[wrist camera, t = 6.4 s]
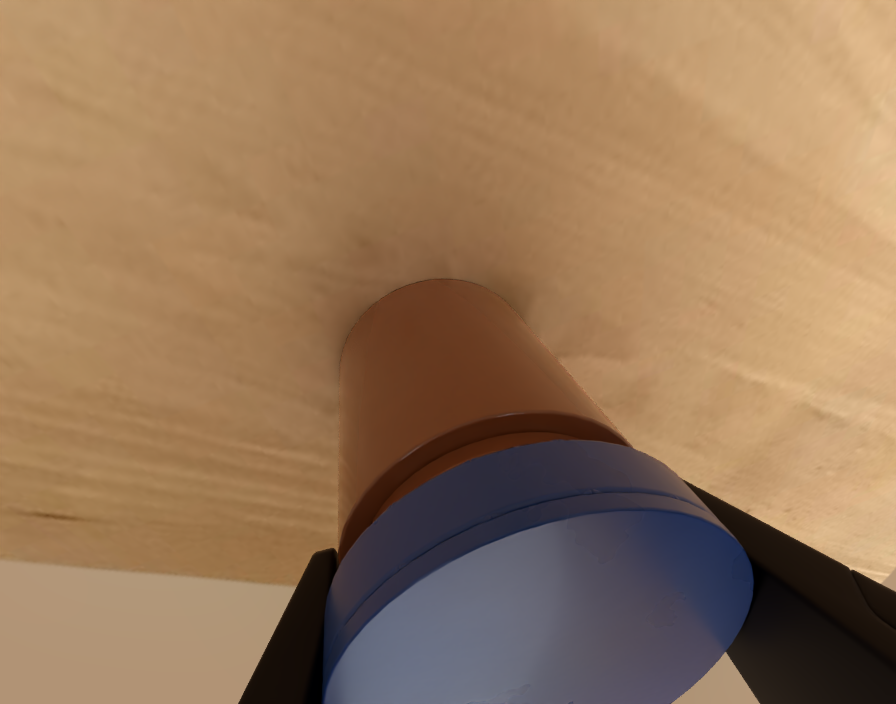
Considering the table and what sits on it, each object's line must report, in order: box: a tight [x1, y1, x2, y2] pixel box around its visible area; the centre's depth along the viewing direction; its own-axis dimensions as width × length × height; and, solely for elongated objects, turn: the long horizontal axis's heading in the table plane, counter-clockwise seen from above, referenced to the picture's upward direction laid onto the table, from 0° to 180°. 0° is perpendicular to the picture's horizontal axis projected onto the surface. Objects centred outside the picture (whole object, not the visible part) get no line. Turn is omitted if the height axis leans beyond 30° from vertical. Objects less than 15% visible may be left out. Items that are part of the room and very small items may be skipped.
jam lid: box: [321, 439, 754, 704], centre depth 8 cm, size 7×7×1 cm
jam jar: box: [338, 279, 633, 565], centre depth 12 cm, size 6×6×8 cm
